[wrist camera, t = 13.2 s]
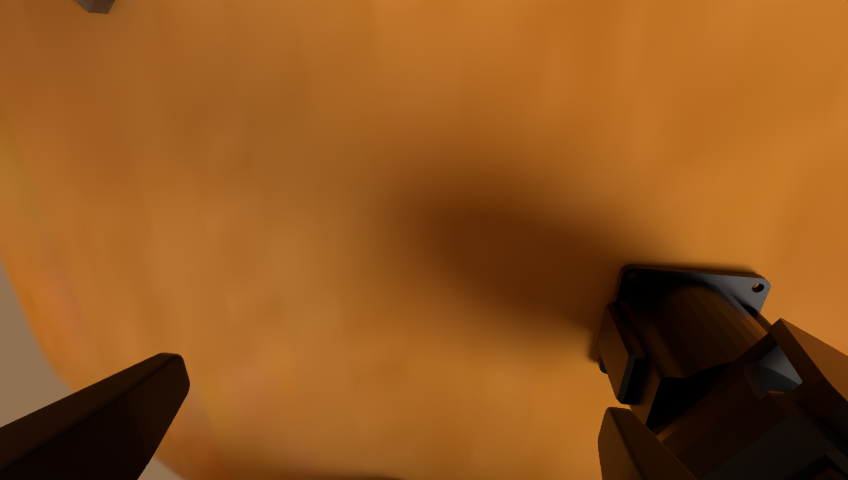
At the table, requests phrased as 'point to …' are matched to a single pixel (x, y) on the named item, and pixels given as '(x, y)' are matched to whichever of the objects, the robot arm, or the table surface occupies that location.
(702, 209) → the table surface
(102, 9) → the board
